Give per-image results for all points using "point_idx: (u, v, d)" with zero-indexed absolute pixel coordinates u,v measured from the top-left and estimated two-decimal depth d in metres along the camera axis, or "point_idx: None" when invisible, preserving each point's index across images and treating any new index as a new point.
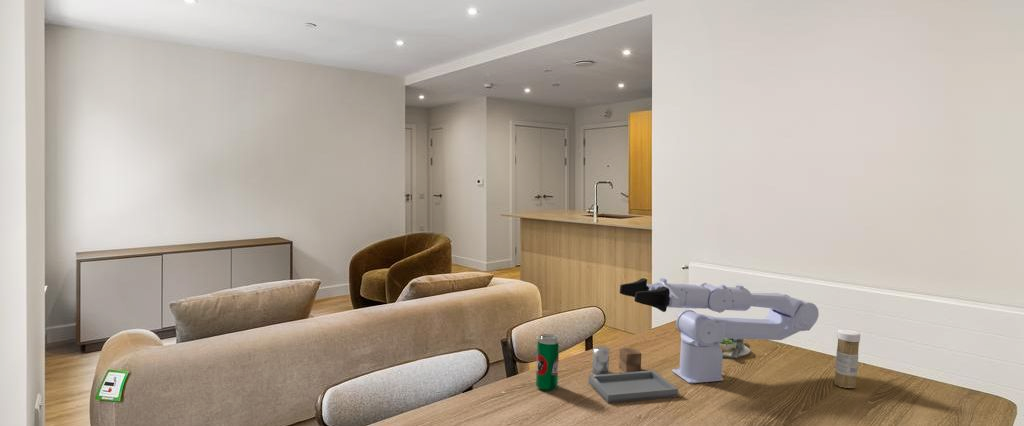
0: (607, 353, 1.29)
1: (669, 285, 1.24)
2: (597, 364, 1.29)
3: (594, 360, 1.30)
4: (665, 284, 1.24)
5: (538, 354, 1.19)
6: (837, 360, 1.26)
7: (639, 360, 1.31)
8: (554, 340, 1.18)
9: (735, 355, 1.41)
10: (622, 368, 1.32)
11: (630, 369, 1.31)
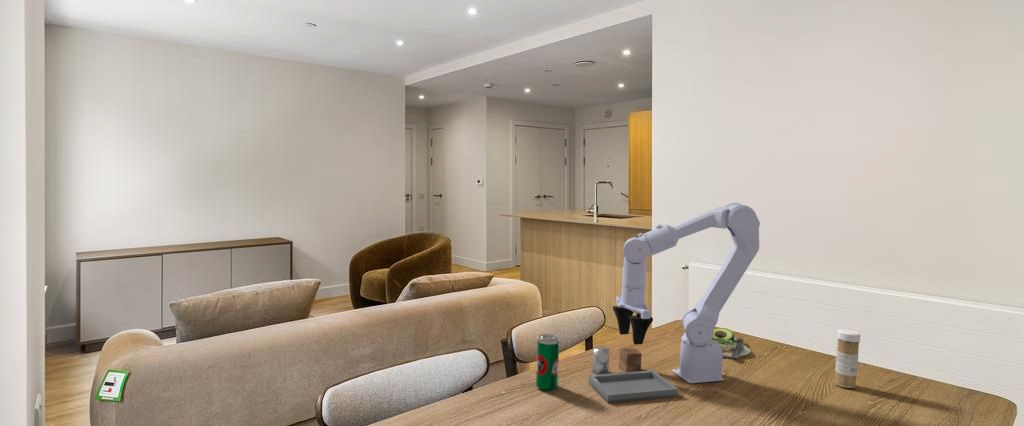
0: (607, 353, 1.29)
1: (625, 301, 1.29)
2: (597, 364, 1.29)
3: (594, 360, 1.30)
4: (624, 306, 1.29)
5: (538, 354, 1.19)
6: (837, 360, 1.26)
7: (639, 360, 1.31)
8: (554, 340, 1.18)
9: (735, 355, 1.41)
10: (622, 368, 1.32)
11: (630, 369, 1.31)
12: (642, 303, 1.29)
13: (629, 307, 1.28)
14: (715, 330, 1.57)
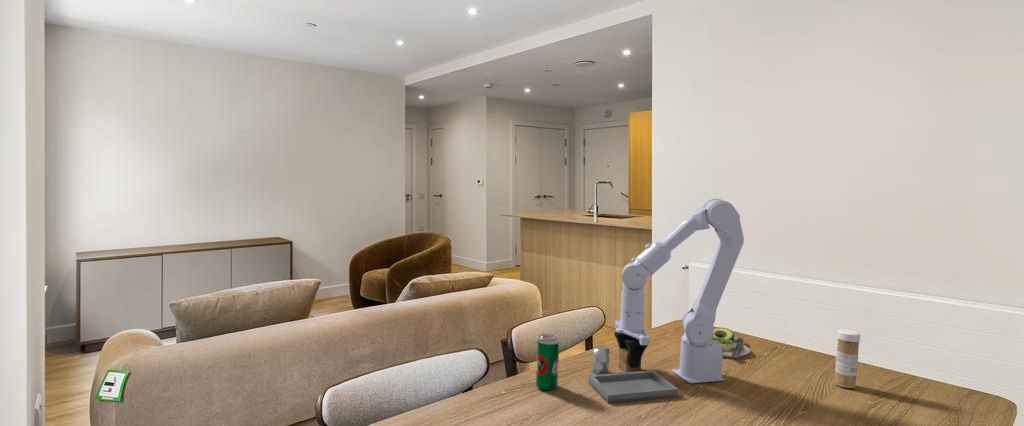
0: (607, 353, 1.29)
1: (624, 326, 1.30)
2: (597, 364, 1.29)
3: (594, 360, 1.30)
4: (623, 332, 1.30)
5: (538, 354, 1.19)
6: (837, 360, 1.26)
7: None
8: (554, 340, 1.18)
9: (735, 355, 1.41)
10: (622, 368, 1.32)
11: (630, 368, 1.31)
12: (641, 328, 1.30)
13: (628, 333, 1.29)
14: (715, 330, 1.57)
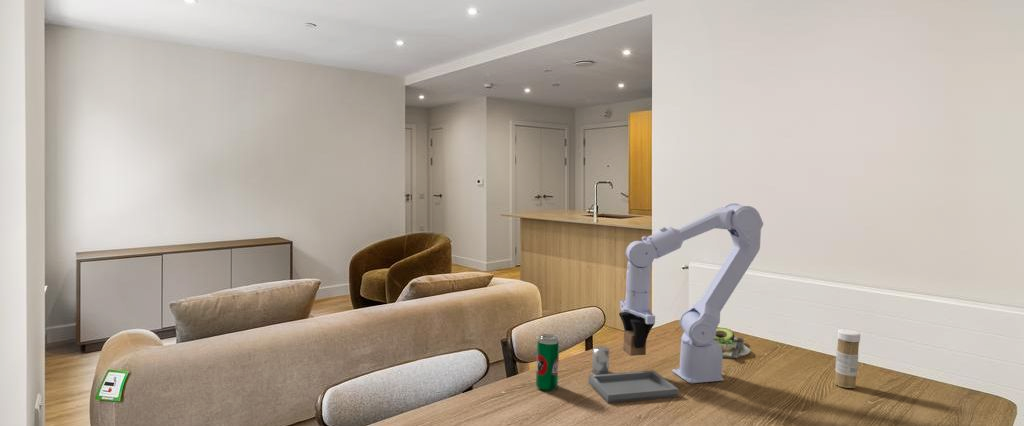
0: (607, 353, 1.29)
1: (629, 306, 1.27)
2: (597, 364, 1.29)
3: (594, 360, 1.30)
4: (628, 311, 1.27)
5: (538, 354, 1.19)
6: (837, 360, 1.26)
7: None
8: (554, 340, 1.18)
9: (735, 355, 1.41)
10: (626, 350, 1.29)
11: (635, 351, 1.28)
12: (647, 308, 1.27)
13: (633, 312, 1.26)
14: None
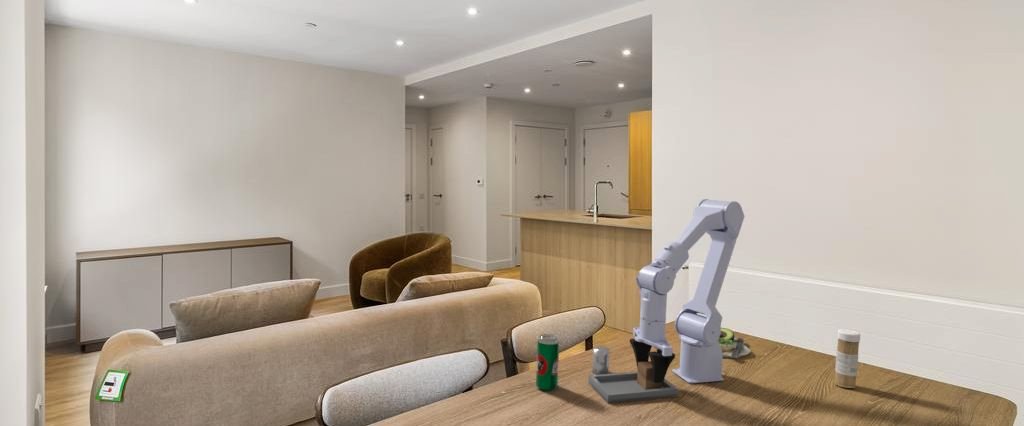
0: (607, 353, 1.29)
1: (644, 335, 1.19)
2: (597, 364, 1.29)
3: (594, 360, 1.30)
4: (643, 341, 1.19)
5: (538, 354, 1.19)
6: (837, 360, 1.26)
7: None
8: (554, 340, 1.18)
9: (735, 355, 1.41)
10: (641, 383, 1.21)
11: (650, 384, 1.20)
12: (663, 337, 1.19)
13: (649, 342, 1.18)
14: None
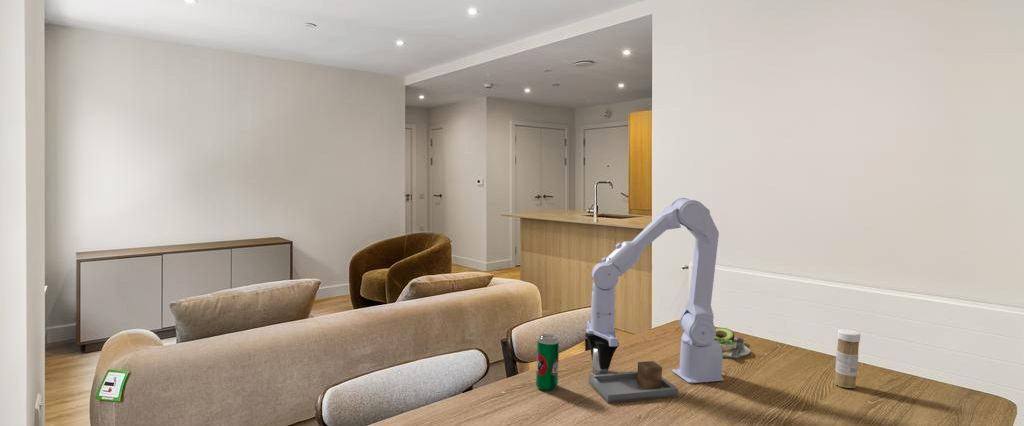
0: None
1: (594, 327, 1.28)
2: (597, 364, 1.29)
3: (594, 360, 1.30)
4: (593, 333, 1.28)
5: (538, 354, 1.19)
6: (837, 360, 1.26)
7: (659, 375, 1.20)
8: (554, 340, 1.18)
9: (735, 355, 1.41)
10: (641, 383, 1.21)
11: (650, 384, 1.20)
12: (611, 329, 1.28)
13: (598, 334, 1.27)
14: None
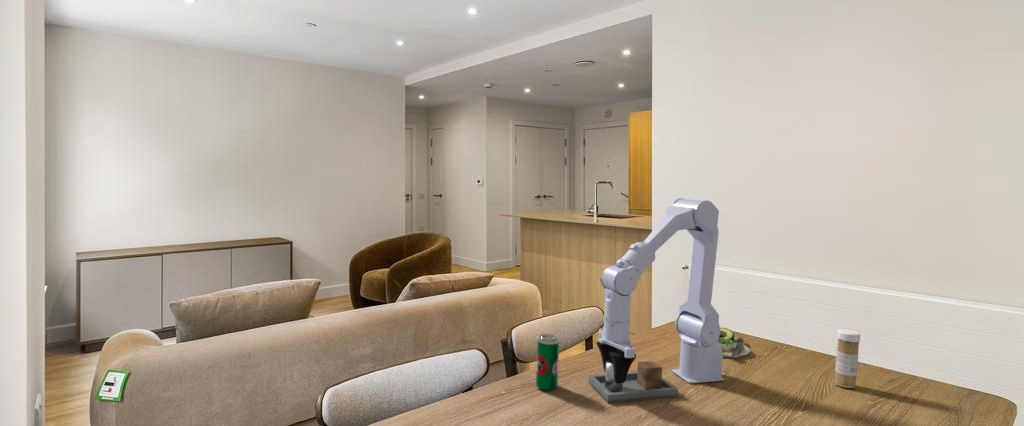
0: None
1: (607, 337, 1.17)
2: (610, 380, 1.18)
3: (607, 376, 1.18)
4: (606, 342, 1.17)
5: (538, 354, 1.19)
6: (837, 360, 1.26)
7: (659, 375, 1.20)
8: (554, 340, 1.18)
9: (735, 355, 1.41)
10: (641, 383, 1.21)
11: (650, 384, 1.20)
12: (626, 339, 1.17)
13: (612, 344, 1.16)
14: None
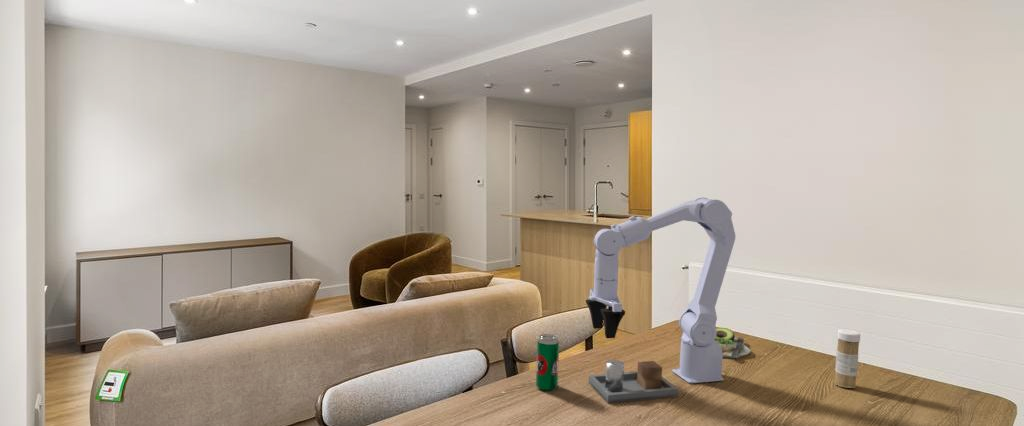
0: (622, 368, 1.18)
1: (597, 294, 1.26)
2: (610, 380, 1.18)
3: (607, 375, 1.18)
4: (596, 299, 1.26)
5: (538, 354, 1.19)
6: (837, 360, 1.26)
7: (659, 375, 1.20)
8: (554, 340, 1.18)
9: (735, 355, 1.41)
10: (641, 383, 1.21)
11: (650, 384, 1.20)
12: (614, 296, 1.26)
13: (601, 300, 1.25)
14: None
